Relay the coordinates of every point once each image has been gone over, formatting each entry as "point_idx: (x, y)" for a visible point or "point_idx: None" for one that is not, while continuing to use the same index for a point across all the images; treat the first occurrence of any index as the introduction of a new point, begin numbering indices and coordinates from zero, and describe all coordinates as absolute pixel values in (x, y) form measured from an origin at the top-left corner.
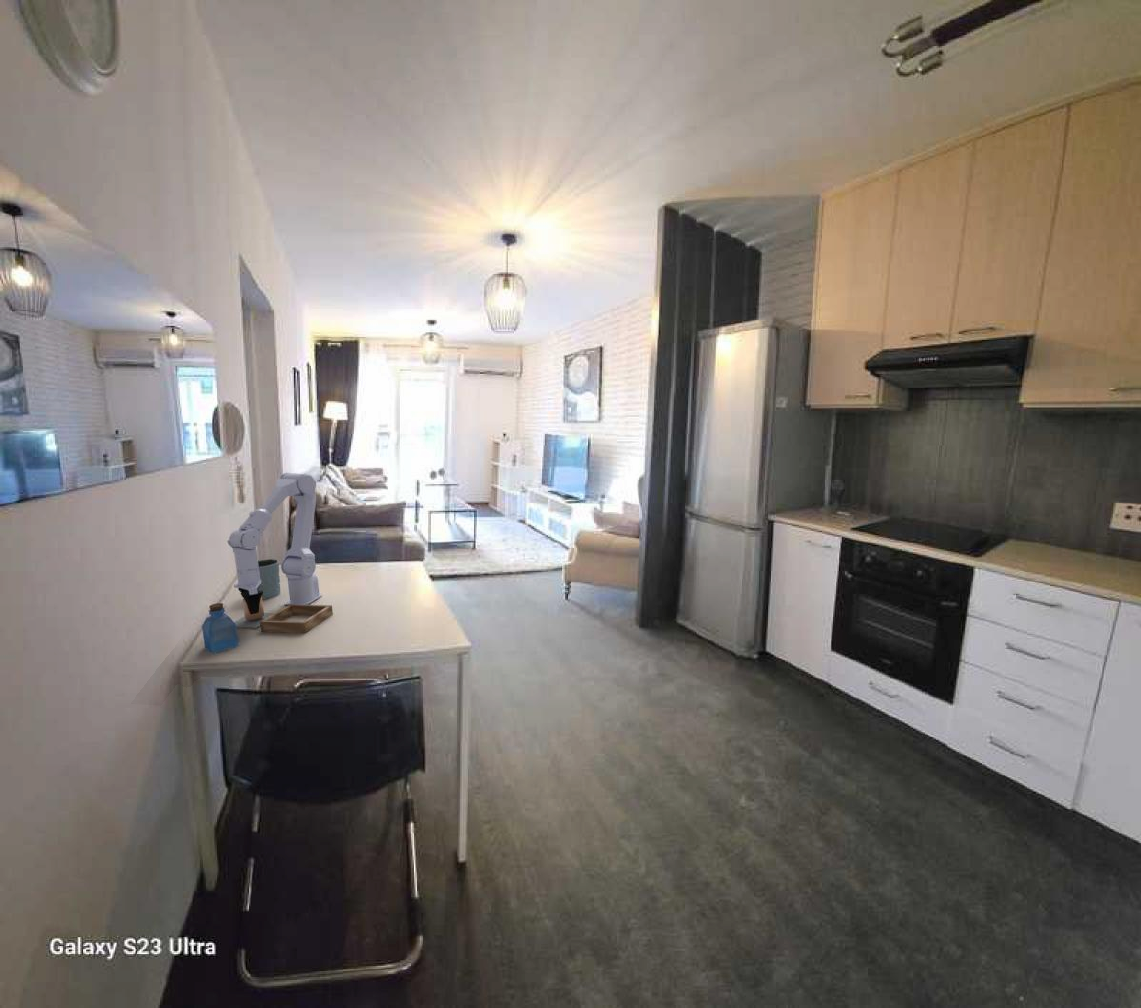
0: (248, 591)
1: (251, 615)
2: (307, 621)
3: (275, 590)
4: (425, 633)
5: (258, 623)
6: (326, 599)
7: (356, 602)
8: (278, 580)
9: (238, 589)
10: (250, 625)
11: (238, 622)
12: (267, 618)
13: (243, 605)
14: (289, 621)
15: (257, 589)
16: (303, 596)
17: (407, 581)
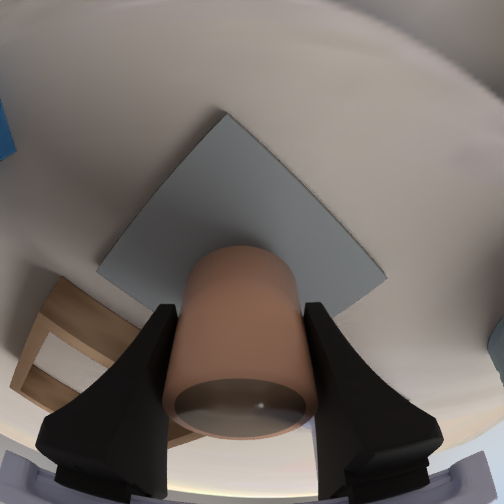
0: (110, 487)
1: (183, 297)
2: (22, 395)
3: (495, 365)
4: (9, 431)
5: (153, 286)
6: (303, 440)
7: (214, 461)
8: None
9: (371, 451)
10: (142, 251)
11: (252, 197)
12: (74, 343)
13: (224, 326)
14: (25, 374)
15: (318, 470)
16: (313, 441)
17: (284, 492)
